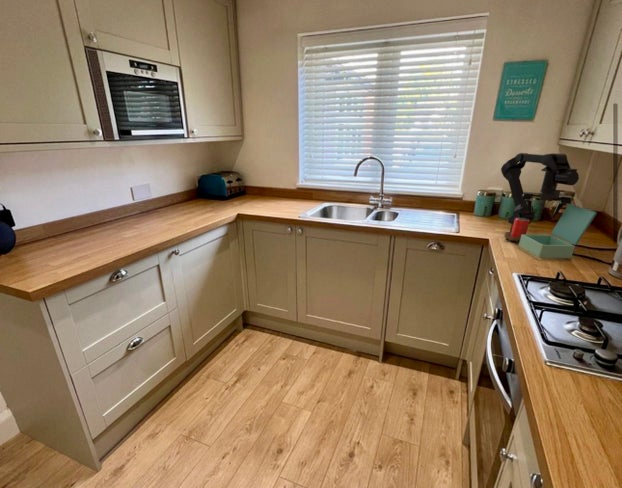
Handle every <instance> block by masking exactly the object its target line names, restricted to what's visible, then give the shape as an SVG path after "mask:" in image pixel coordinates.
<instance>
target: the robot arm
mask: <svg viewBox="0 0 622 488" xmlns="http://www.w3.org/2000/svg"><path fill="white" fill-rule="evenodd" d="M526 163H534V164H535V163H536V164H541V165H543V166H545V167H543V168H542V169H541V172H544V176H543V180H542V184H541V187H540V191H539V194H534V192H529V191H525V192H524V189H523V186H522V182H521V179H520V177H521V175H522V169H523V168H525V166H526ZM500 172H501V174H502V177H503V178H504V179H505V180H506V181H507V182H508V186H509V188H510V189H509V190H510V192H511V196H512V199H513V204H514V208H513V212H512V213H513V215H511V216H510V217H508V219H507V220H508V221H507V222H508V224H510V229H509V231H507V232H505V233H511V232H512V228H513V224H514V220H515V218H526V219H529V220H530V222H529V225H530V224H531V223H532V221H533V220H534V218H535V216H536V215H535V214H536V212H535V209H534V206H533V200H534V199H535V200H539V201H546V202H553V201H554V202H558V203H557V205H556V208H555V210H554V212H553V215H552V218H555V217H556V216H557V214H558V213H559V211H561V209H562V208H563V207H564V206H568V204H571V205H572V202H573V198H572V196H571V195H564V194H563V195H561V196H560V194H561V190H560V189H557V188H558V185H565V186H570V187H571V186H575V185H576V184H577V183H578V181H579V179H580V176H579V173H578V169H577V168H572V167H571V165H570V162H569V160H568V156H567V154H566V153H563V152H562V153H559V152H558V153H557V152H556V153H546V154H536V153H528V152H519V153H517V154H516V155H515V156H514V157H512V158H510V159H509V160H507V161H506V162H505V163H503V165H501V168H500Z"/></svg>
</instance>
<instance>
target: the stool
mask: <svg viewBox="0 0 622 488" xmlns="http://www.w3.org/2000/svg"><path fill="white" fill-rule="evenodd" d="M503 237H504V238H505V241H509V240H510V241H515V243H516V244H518V245H519V242H520V239H521V238H520V237H514V236H512V235H511V233H506V232H505V233H504V235H503Z"/></svg>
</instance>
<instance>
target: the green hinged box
mask: <svg viewBox="0 0 622 488" xmlns="http://www.w3.org/2000/svg"><path fill="white" fill-rule="evenodd" d="M518 247H520V248H521V249H523V250H525V251H527V252H528V253H530V254H532V255H533V256H534V257H537V258H539V259H572V256H573V255H574V251H575V248H576V245H574V244H572V243H570V242H568V241H565V240H563V239H561V238H559V237H557V236H555V235H552V234H530V233H529V234H527V233H526V234H522V235H521V239H520V242H519V244H518Z"/></svg>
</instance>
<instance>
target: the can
mask: <svg viewBox="0 0 622 488" xmlns="http://www.w3.org/2000/svg"><path fill="white" fill-rule="evenodd" d="M529 222H530V220H529V219H526V218H515V220H514V224H513V228H512V232H511V235H512V236H514V237H520V238H521V235H522V234H527V232H528V229H529V226H530V224H529Z"/></svg>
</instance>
